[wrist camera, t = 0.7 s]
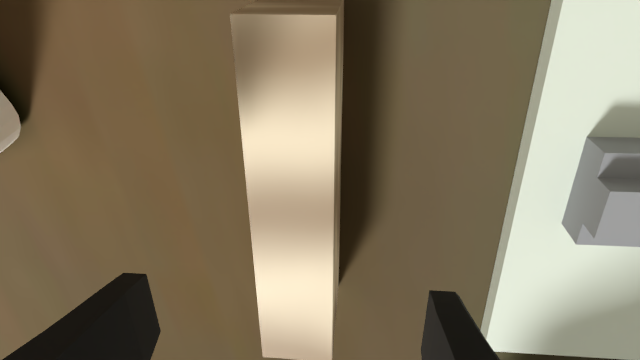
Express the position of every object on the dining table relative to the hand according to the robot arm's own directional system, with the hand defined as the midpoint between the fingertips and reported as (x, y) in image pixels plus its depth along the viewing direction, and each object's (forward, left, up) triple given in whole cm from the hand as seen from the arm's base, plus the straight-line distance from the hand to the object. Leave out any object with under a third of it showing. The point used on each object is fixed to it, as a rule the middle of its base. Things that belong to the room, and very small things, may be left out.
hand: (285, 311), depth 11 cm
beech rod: (0, +1, -10) cm, 10 cm away
